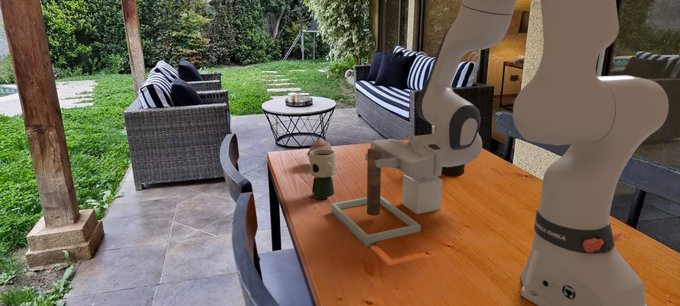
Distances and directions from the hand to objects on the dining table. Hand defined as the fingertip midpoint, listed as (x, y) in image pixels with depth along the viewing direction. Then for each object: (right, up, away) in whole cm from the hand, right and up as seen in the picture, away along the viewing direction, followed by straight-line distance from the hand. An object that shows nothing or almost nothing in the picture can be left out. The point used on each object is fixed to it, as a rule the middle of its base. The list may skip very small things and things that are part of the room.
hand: (370, 160), depth 106 cm
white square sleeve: (+14, -13, +12) cm, 23 cm away
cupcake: (-14, -3, +47) cm, 49 cm away
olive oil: (+28, -4, +41) cm, 50 cm away
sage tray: (+1, -15, +5) cm, 16 cm away
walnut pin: (+1, -13, +4) cm, 14 cm away
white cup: (+30, +2, +61) cm, 68 cm away
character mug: (-12, -11, +22) cm, 27 cm away
